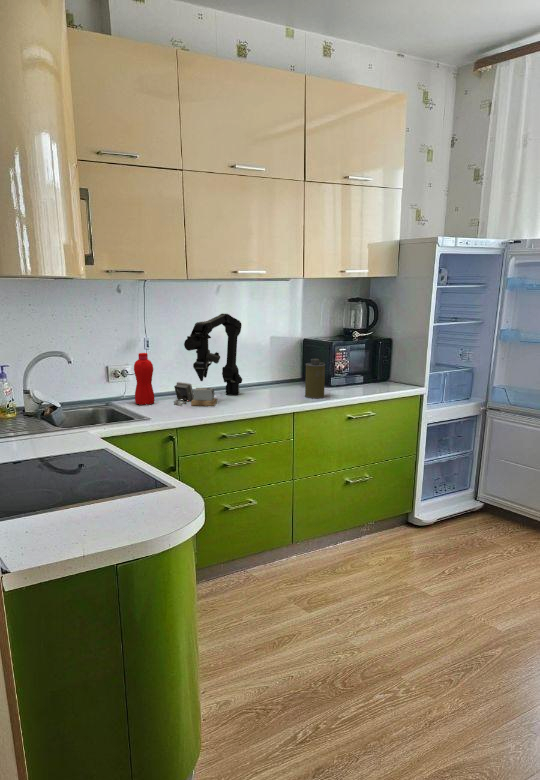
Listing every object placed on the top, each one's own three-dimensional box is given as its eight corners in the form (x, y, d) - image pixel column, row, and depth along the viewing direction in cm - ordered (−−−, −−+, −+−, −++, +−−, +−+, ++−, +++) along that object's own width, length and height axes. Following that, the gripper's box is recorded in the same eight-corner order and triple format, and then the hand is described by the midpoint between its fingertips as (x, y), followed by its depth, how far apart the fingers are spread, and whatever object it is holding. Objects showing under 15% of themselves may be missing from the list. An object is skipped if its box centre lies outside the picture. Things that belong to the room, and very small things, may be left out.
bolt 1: (182, 405, 268) (182, 402, 267) (180, 406, 267) (180, 402, 266) (176, 404, 271) (176, 400, 270) (173, 404, 270) (173, 401, 269)
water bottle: (153, 400, 279) (151, 351, 274) (155, 404, 269) (153, 354, 264) (134, 401, 277) (132, 351, 272) (135, 405, 267) (133, 354, 262)
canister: (312, 399, 284) (313, 361, 280) (300, 395, 292) (301, 358, 288) (329, 397, 289) (330, 359, 286) (317, 393, 298) (318, 357, 294)
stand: (216, 403, 274) (216, 398, 273) (213, 406, 266) (213, 401, 265) (195, 402, 275) (194, 397, 274) (191, 406, 267) (191, 400, 266)
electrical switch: (195, 400, 280) (193, 382, 277) (188, 403, 275) (186, 385, 273) (181, 398, 285) (179, 381, 282) (174, 401, 280) (172, 383, 278)
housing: (196, 398, 273) (196, 386, 272) (214, 398, 272) (214, 387, 271) (193, 400, 268) (193, 388, 266) (212, 400, 267) (211, 389, 266)
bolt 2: (186, 403, 273) (186, 400, 272) (186, 404, 271) (186, 400, 271) (176, 403, 271) (176, 400, 271) (176, 404, 270) (176, 401, 270)
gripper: (215, 351, 261) (216, 383, 264) (221, 345, 279) (222, 376, 282) (192, 350, 261) (193, 383, 265) (200, 345, 280) (201, 375, 283)
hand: (203, 379), depth 274 cm, fingers open, 9 cm apart
